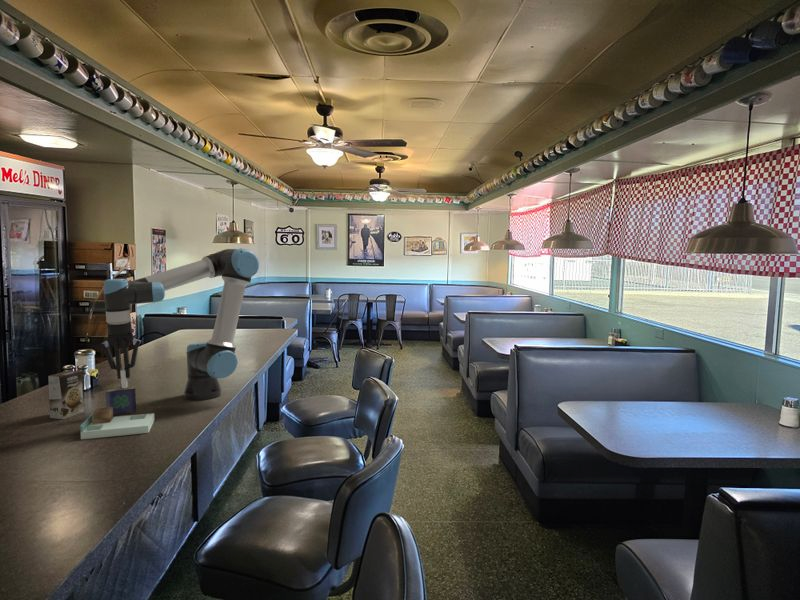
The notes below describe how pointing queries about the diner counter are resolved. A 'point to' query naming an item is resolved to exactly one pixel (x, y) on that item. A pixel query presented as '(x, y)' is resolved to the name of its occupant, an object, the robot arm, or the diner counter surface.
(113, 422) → the board
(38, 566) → the diner counter surface
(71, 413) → the coffee box
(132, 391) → the flask
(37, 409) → the diner counter surface
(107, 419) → the walnut block
